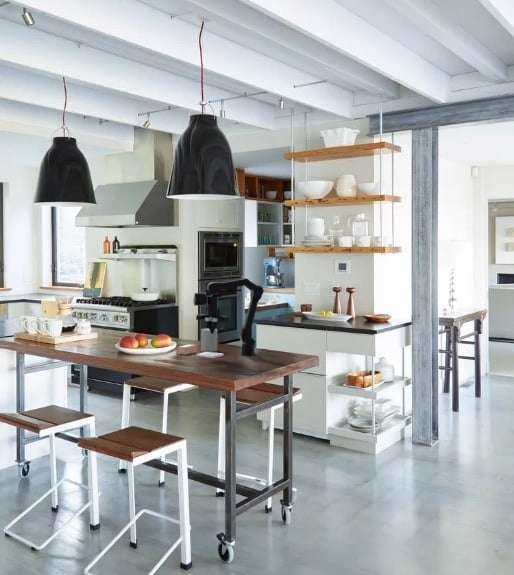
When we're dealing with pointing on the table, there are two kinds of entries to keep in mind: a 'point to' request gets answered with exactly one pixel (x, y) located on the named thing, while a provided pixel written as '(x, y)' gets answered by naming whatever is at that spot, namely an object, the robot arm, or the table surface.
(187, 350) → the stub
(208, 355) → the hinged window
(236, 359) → the table surface
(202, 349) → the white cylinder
